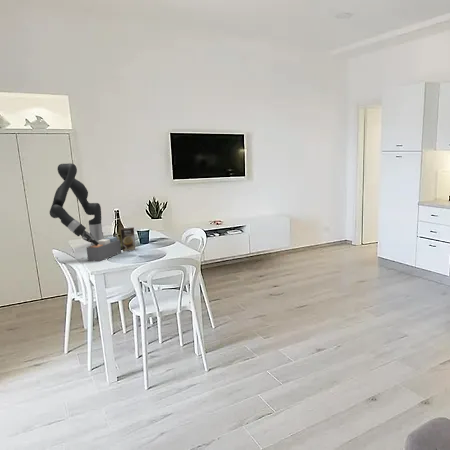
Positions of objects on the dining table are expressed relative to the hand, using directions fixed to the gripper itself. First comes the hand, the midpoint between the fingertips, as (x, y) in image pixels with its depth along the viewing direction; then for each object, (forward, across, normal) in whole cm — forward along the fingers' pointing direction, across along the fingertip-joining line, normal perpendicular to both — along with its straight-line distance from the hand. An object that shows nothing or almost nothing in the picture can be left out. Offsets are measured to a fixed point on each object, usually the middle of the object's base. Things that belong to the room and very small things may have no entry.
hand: (97, 244), depth 258 cm
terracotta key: (+2, 0, +3) cm, 4 cm away
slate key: (+5, +15, -3) cm, 16 cm away
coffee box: (+19, +22, -5) cm, 29 cm away
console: (+9, +7, +5) cm, 13 cm away
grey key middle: (+3, +7, -1) cm, 8 cm away
